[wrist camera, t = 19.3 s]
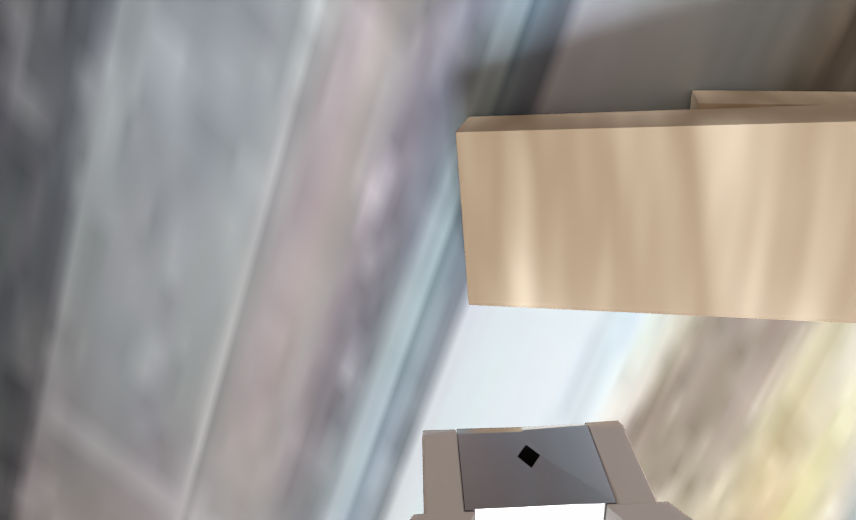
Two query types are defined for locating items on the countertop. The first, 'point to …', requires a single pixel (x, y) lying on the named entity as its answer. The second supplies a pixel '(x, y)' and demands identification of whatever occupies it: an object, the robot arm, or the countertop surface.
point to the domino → (664, 211)
